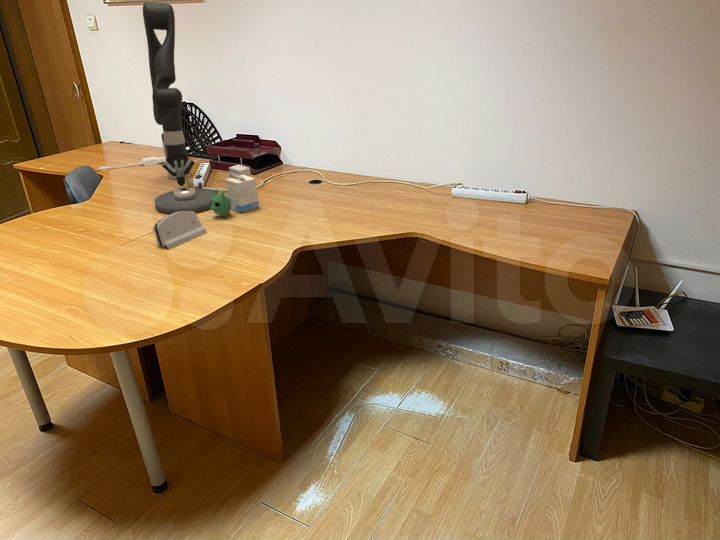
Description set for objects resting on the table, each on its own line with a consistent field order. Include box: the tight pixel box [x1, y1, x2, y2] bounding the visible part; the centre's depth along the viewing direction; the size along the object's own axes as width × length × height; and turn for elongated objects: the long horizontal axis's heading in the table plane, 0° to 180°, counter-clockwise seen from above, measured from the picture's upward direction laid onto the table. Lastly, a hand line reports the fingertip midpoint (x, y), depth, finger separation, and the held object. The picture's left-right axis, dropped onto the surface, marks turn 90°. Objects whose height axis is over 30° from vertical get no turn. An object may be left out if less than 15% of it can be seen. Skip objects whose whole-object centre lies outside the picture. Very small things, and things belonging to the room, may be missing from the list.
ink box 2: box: [225, 174, 260, 214], centre depth 192 cm, size 9×8×13 cm
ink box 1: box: [228, 164, 252, 178], centre depth 206 cm, size 9×5×12 cm, turn 46°
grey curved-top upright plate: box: [152, 211, 208, 250], centre depth 166 cm, size 17×5×10 cm, turn 149°
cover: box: [173, 186, 196, 201], centre depth 197 cm, size 8×8×3 cm
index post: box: [197, 182, 204, 189], centre depth 211 cm, size 2×2×4 cm
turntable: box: [153, 176, 217, 215], centre depth 197 cm, size 24×24×8 cm
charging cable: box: [96, 155, 166, 171], centre depth 253 cm, size 5×32×3 cm, turn 117°
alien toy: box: [209, 189, 232, 218], centre depth 184 cm, size 7×8×10 cm
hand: (181, 185), depth 204 cm, fingers closed
